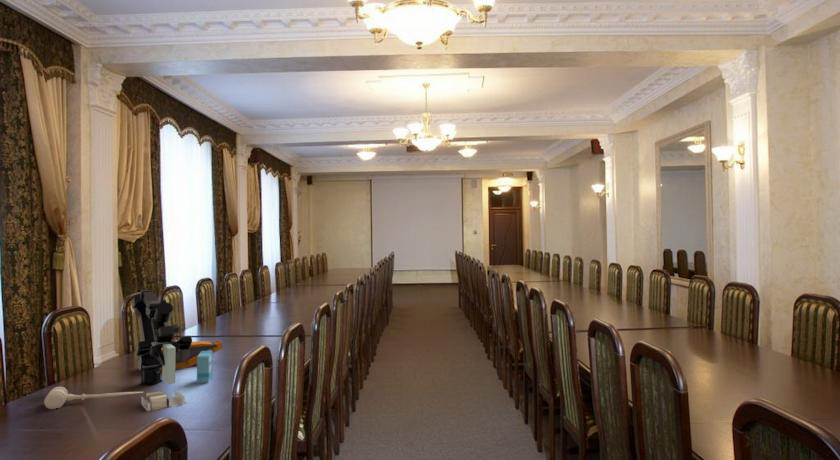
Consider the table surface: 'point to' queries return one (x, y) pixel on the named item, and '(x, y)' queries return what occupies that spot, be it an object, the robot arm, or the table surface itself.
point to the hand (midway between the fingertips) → (168, 364)
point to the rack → (175, 401)
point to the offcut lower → (158, 405)
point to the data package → (204, 367)
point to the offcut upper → (156, 397)
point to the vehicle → (194, 353)
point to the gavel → (73, 397)
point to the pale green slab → (169, 363)
